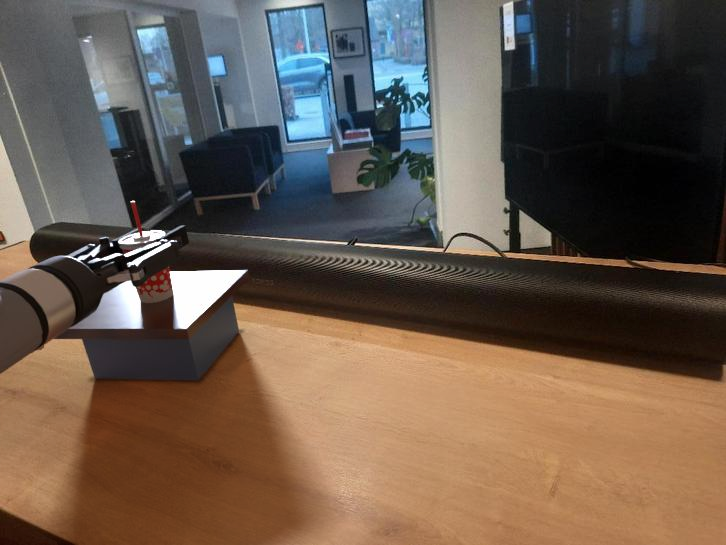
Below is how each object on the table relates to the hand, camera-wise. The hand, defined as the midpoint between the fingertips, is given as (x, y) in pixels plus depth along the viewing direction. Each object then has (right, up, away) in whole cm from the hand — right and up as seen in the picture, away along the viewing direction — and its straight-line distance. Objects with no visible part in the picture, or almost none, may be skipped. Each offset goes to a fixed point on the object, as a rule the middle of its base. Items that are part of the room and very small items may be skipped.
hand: (163, 235), depth 73 cm
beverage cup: (0, -9, -2) cm, 9 cm away
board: (0, -10, -1) cm, 11 cm away
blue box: (+1, -18, +1) cm, 18 cm away
